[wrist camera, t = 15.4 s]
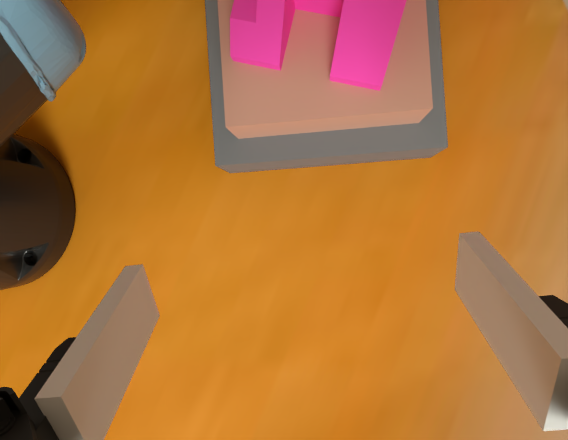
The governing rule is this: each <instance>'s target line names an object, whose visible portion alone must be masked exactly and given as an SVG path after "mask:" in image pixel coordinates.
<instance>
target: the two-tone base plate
mask: <svg viewBox="0 0 568 440" xmlns="http://www.w3.org/2000/svg"><path fill="white" fill-rule="evenodd" d="M233 3H234V0H205V9H206V24H207V40H208V56H209V72H210V87H211V103H212V119H213V135H214V151H215V166H217V167H219V168H221V169H223V170H225V171H227V172H229V173H239V172H252V171H264V170H277V169H290V168H302V167H315V166H328V165H340V164H353V163H366V162H378V161H391V160H404V159H416V158H429V157H432V156H434V155H435V154H437V153H439V152H440V151H442V150H444V149H445V148H447V147H448V142H447V127H446V112H445V97H444V82H443V67H442V52H441V37H440V22H439V7H438V0H407V1H406V4H405V8H404V11H403V14H402V18H401V21H400V25H399V28H398V32H397V35H396V39H395V42H394V46H393V49H392V52H391V56H390V59H389V63H388V66H387V70H386V73H385V77H384V80H383V84H382V87H381V89H380V91H378V90H373V89H368V88H363V87H358V86H354V85H349V84H344V83H339V82H334V81H330V72H331V67H332V61H333V56H334V50H335V45H336V39H337V34H338V29H339V23H340V17H335V16H330V15H324V14H319V13H314V12H308V11H303V10H298V9H295V13H294V17H293V22H292V26H291V30H290V34H289V38H288V42H287V47H286V51H285V55H284V59H283V63H282V68H281V71H280V70H275V69H270V68H265V67H260V66H255V65H250V64H245V63H241V62H236V61H233V60H232V58H231V56H230V15H231V11H232V7H233Z"/></svg>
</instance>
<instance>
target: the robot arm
mask: <svg viewBox="0 0 568 440" xmlns="http://www.w3.org/2000/svg"><path fill="white" fill-rule="evenodd" d="M85 53H86V42H85V37H84V34H83V32H82V30H81V28H80V26H79V25H78V23H77V22H76V20H75V19H74V18H73V16H72V15H71V14H70V12H69V11H68V10H67V8H66V7H65V6H64V5H63V3H62V2H61V1H60V0H0V290H3V289H8V288H12V287H17V286H21V285H25V284H28V283H30V282H32V281H34V280H36V279H38V278H40V277H41V276H43V275H44V274H45V273H47V272H48V271H49V270H50V269H51V268H52V267H53V266H54V265H55V264H56V263H57V262H58V260H59V259H60V258H61V256H62V255H63V253H64V251H65V249H66V247H67V245H68V243H69V241H70V238H71V235H72V231H73V226H74V220H75V202H74V195H73V191H72V187H71V184H70V181H69V179H68V177H67V175H66V173H65V171H64V169H63V167H62V166H61V165H60V163H59V162H58V161H57V159H56V158H55V157H54V156H53V155H52V154H51V153H50V152H49V151H48V150H46V149H45V148H44V147H42V146H41V145H39V144H38V143H36V142H34V141H32V140H30V139H27V138H24V137H20V136H17V135H13V134H14V133H15V132H16V131H17V130H18V129H19V128H20V127H21V126H22V125H23V124H24V123H25V122H26V121H27V120H28V119H29V118H30V117H31V116H32V115H33V114H34V113H35V112H36V111H37V110H38V109H39V108H40V107H41V106H42V105H43V104H44V103H45V102H46V101H47V100H49V101H53V100H54V99H55V97H56V91H57V90H58V89H59V88H60V86H61V85H62V84H63V83H64V82H65V81H66V80H67V79H68V78H69V76H70V75H71V74H72V73H73V72H74V71H75V70H76V69H77V67H78V66H79V65H80V64H81V63H82V61H83V59H84V57H85ZM455 291H456V292H457V294H458V295H459V297H460V299H461V300H462V302H463V303H464V305H465V307H466V308H467V310H468V311H469V313H470V315H471V316H472V318H473V319H474V321H475V323H476V324H477V326H478V327H479V329H480V331H481V332H482V334H483V335H484V337H485V339H486V340H487V342H488V343H489V345H490V347H491V348H492V350H493V351H494V353H495V355H496V356H497V358H498V359H499V361H500V363H501V364H502V366H503V368H504V369H505V371H506V372H507V374H508V376H509V377H510V379H511V380H512V382H513V384H514V385H515V387H516V388H517V390H518V392H519V393H520V395H521V396H522V398H523V400H524V401H525V403H526V404H527V406H528V408H529V409H530V411H531V412H532V414H533V416H534V417H535V419H536V420H537V422H538V424H539V425H540V427H541V428H542V430H543V431H551V430H566V429H568V303H566V302H564V301H562V300H561V299H559V298H557V297H555V296H554V295H548V296H538V295H537V294H536V293H535V292H534V291H533V290H532V289H531V288H530V287H529V286H528V284H527V283H526V282H525V281H524V280H523V279H522V278H521V277H520V276H519V275H518V274H517V272H516V271H515V270H514V269H513V268H512V267H511V266H510V265H509V264H508V263H507V262H506V260H505V259H504V258H503V257H502V256H501V255H500V254H499V253H498V252H497V251H496V250H495V248H494V247H493V246H492V245H491V244H490V243H489V242H488V241H487V240H486V239H485V238H484V237H483V235H482V234H481V233H480V232H469V233H459V244H458V256H457V268H456V280H455ZM159 316H160V315H159V312H158V309H157V306H156V303H155V300H154V297H153V294H152V291H151V288H150V285H149V282H148V279H147V276H146V273H145V270H144V267H143V265H133V266H125V267H124V269H123V270H122V272H121V273H120V275H119V276H118V278H117V279H116V281H115V282H114V283H113V285H112V286H111V288H110V289H109V291H108V292H107V294H106V295H105V297H104V298H103V300H102V301H101V302H100V304H99V305H98V307H97V308H96V310H95V311H94V313H93V314H92V316H91V317H90V318H89V320H88V321H87V323H86V324H85V326H84V327H83V329H82V330H81V332H80V333H79V334H78V336H77V337H73V338H68V339H66V340H65V341H64V342H63V343H62V344H60V345H59V346H58V347H57V348H56V349H55V350H54V351H53V352H52V354H51V355H50V357H49V358H48V359H47V361H46V363H44V365H43V366H42V368H41V369H40V370H39V373H37V374H36V376H35V377H34V379H33V380H32V381H31V383H30V384H29V385H28V387H27V388H26V389H25V391H24V392H23V394H22V395H21V396H20V398H18V397H17V395H16V393H15V392H14V391H13V389H12V388H8V387H1V388H0V440H104V438H105V436H106V434H107V431H108V429H109V427H110V425H111V422H112V420H113V418H114V416H115V414H116V411H117V409H118V407H119V405H120V402H121V400H122V398H123V396H124V394H125V391H126V389H127V387H128V385H129V383H130V380H131V378H132V376H133V374H134V371H135V369H136V367H137V365H138V363H139V360H140V358H141V356H142V354H143V351H144V349H145V347H146V345H147V343H148V340H149V338H150V336H151V334H152V332H153V329H154V327H155V325H156V323H157V320H158V318H159Z"/></svg>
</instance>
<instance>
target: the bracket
mask: <svg viewBox="0 0 568 440" xmlns="http://www.w3.org/2000/svg"><path fill="white" fill-rule="evenodd" d="M406 1H407V0H234V3H233V7H232V11H231V15H230V56H231V58H232V60H233V61H236V62H241V63H245V64H250V65H255V66H260V67H265V68H270V69H275V70H280V71H281V68H282V63H283V59H284V55H285V51H286V47H287V42H288V38H289V34H290V30H291V26H292V22H293V17H294V13H295V9H298V10H303V11H308V12H314V13H319V14H324V15H330V16H335V17H340V23H339V29H338V34H337V39H336V45H335V50H334V56H333V61H332V67H331V72H330V81H334V82H339V83H344V84H349V85H354V86H358V87H363V88H368V89H373V90H378V91H380V89H381V87H382V84H383V80H384V77H385V73H386V70H387V66H388V63H389V59H390V56H391V52H392V49H393V46H394V42H395V39H396V35H397V32H398V28H399V25H400V21H401V18H402V14H403V11H404V8H405V4H406Z"/></svg>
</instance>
